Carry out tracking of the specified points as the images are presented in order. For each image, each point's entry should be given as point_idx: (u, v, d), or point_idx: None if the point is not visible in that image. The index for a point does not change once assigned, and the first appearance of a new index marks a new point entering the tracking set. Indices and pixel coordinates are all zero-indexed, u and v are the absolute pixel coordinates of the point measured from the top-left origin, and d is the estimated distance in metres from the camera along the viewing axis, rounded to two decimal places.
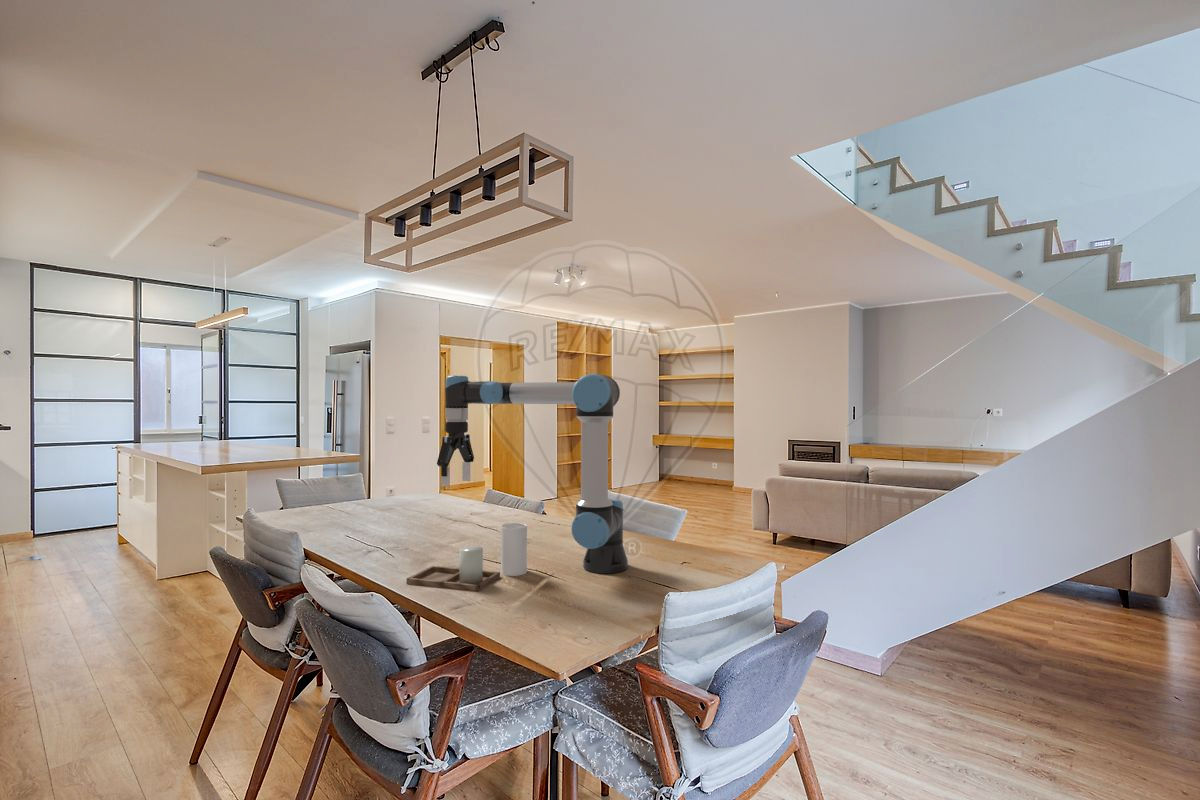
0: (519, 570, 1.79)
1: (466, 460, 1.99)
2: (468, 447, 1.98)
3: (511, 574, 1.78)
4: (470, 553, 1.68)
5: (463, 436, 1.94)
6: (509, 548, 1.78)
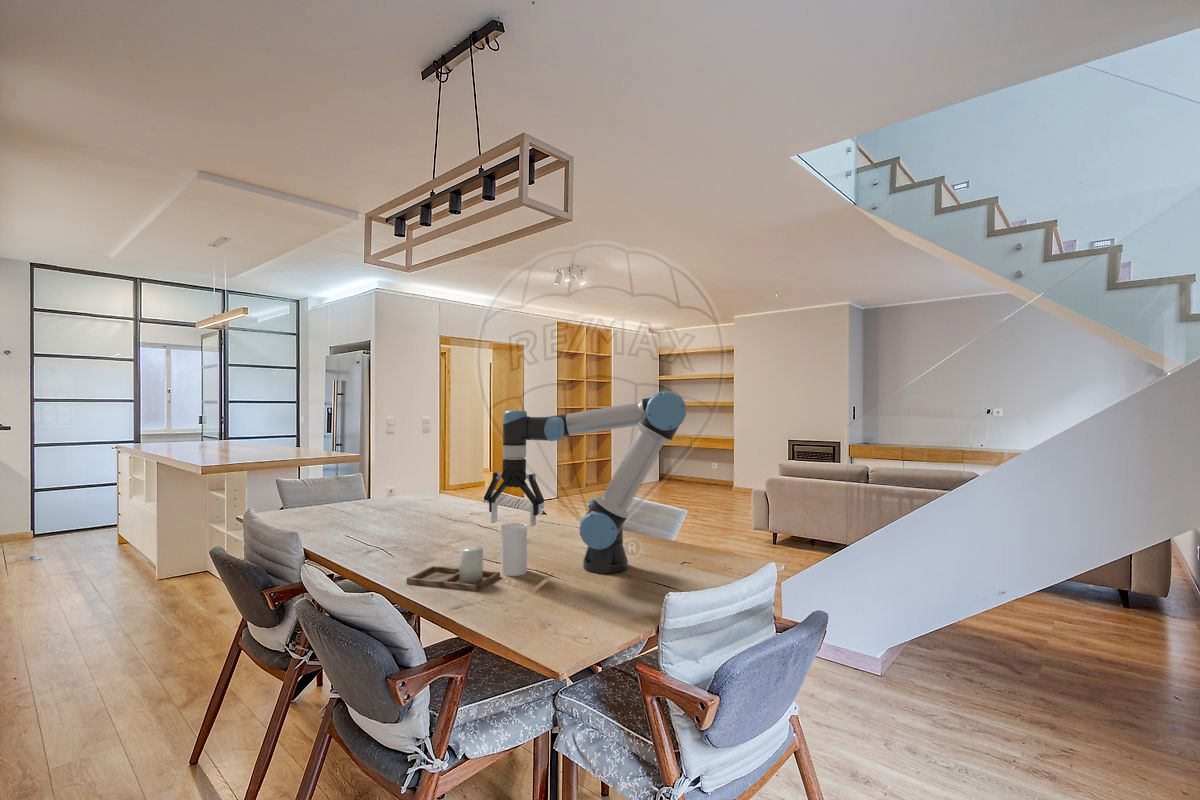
0: (519, 570, 1.79)
1: None
2: None
3: (511, 574, 1.78)
4: (470, 553, 1.68)
5: (520, 475, 1.80)
6: (509, 548, 1.78)
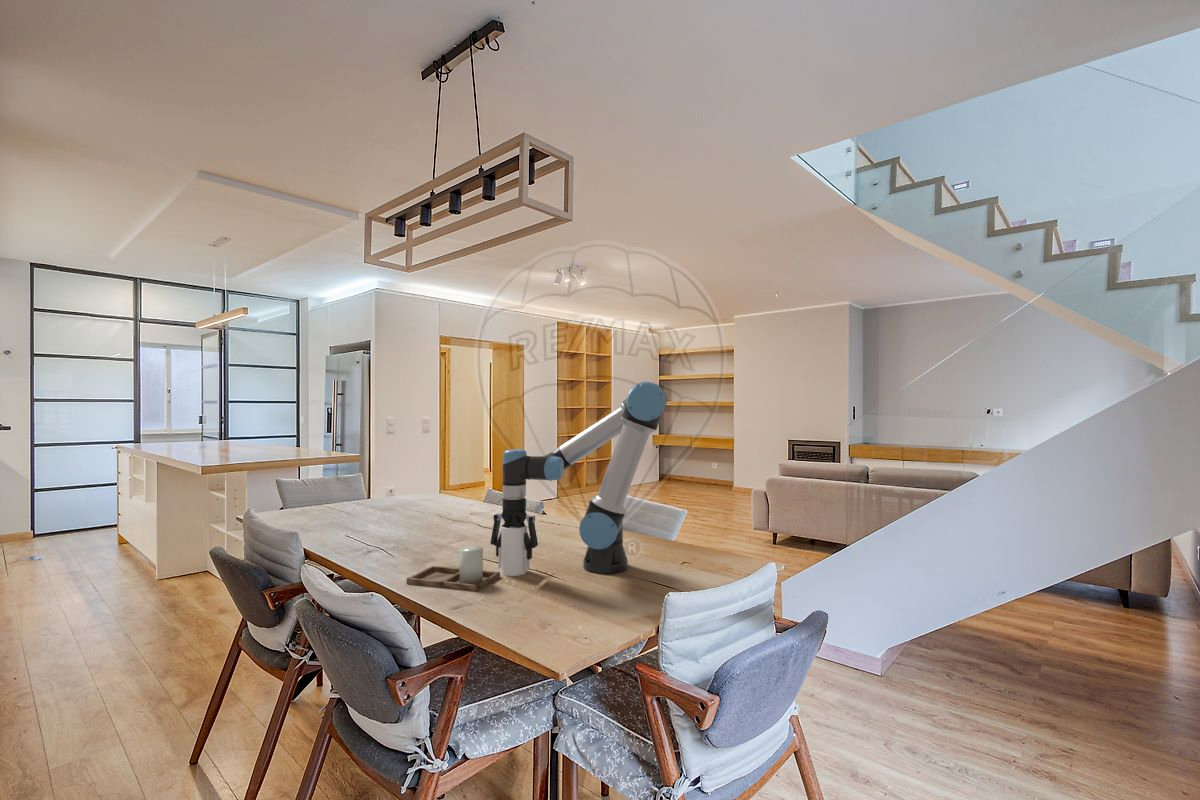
0: (519, 570, 1.79)
1: None
2: None
3: (511, 574, 1.78)
4: (470, 553, 1.68)
5: (520, 515, 1.80)
6: (509, 548, 1.78)
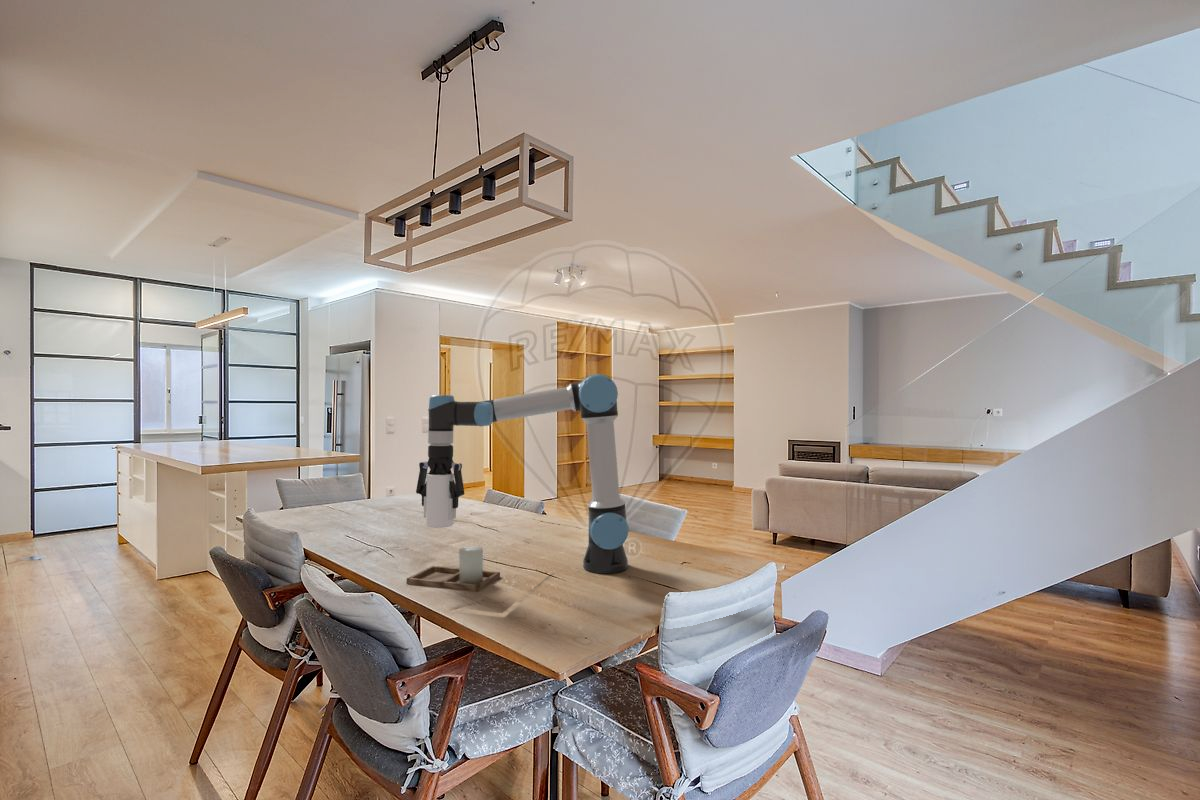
0: (444, 519, 1.72)
1: None
2: None
3: (435, 523, 1.71)
4: (470, 553, 1.68)
5: (446, 462, 1.73)
6: (433, 495, 1.71)
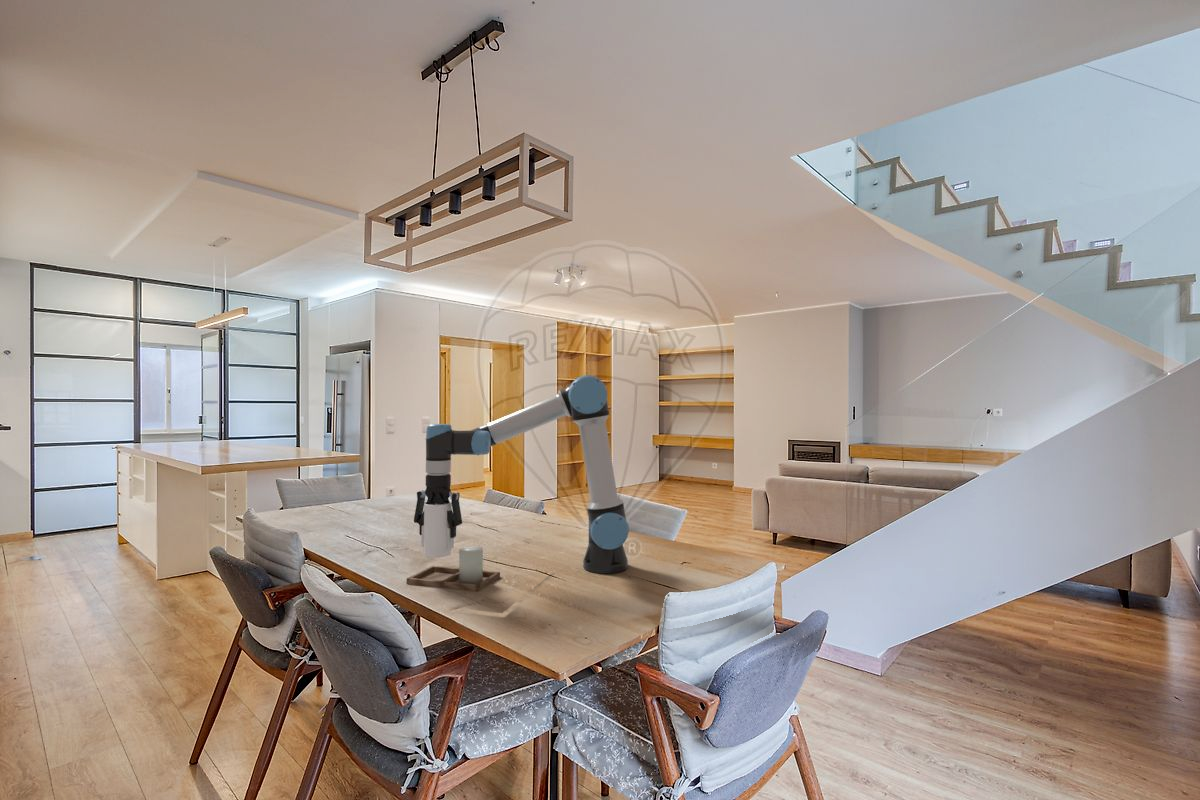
0: (441, 548, 1.72)
1: None
2: None
3: (433, 552, 1.71)
4: (470, 553, 1.68)
5: (444, 491, 1.73)
6: (431, 525, 1.71)
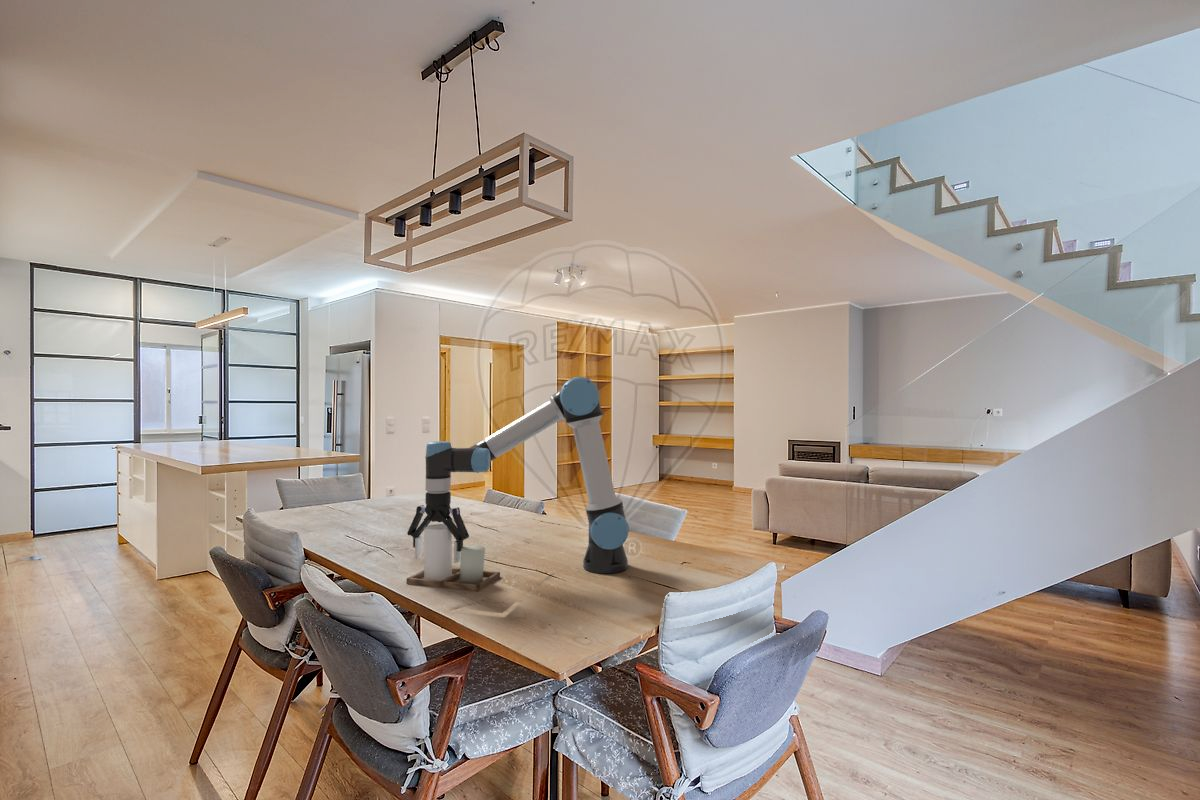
0: (442, 573, 1.71)
1: None
2: None
3: (433, 577, 1.71)
4: (472, 553, 1.68)
5: (443, 509, 1.73)
6: (431, 550, 1.71)
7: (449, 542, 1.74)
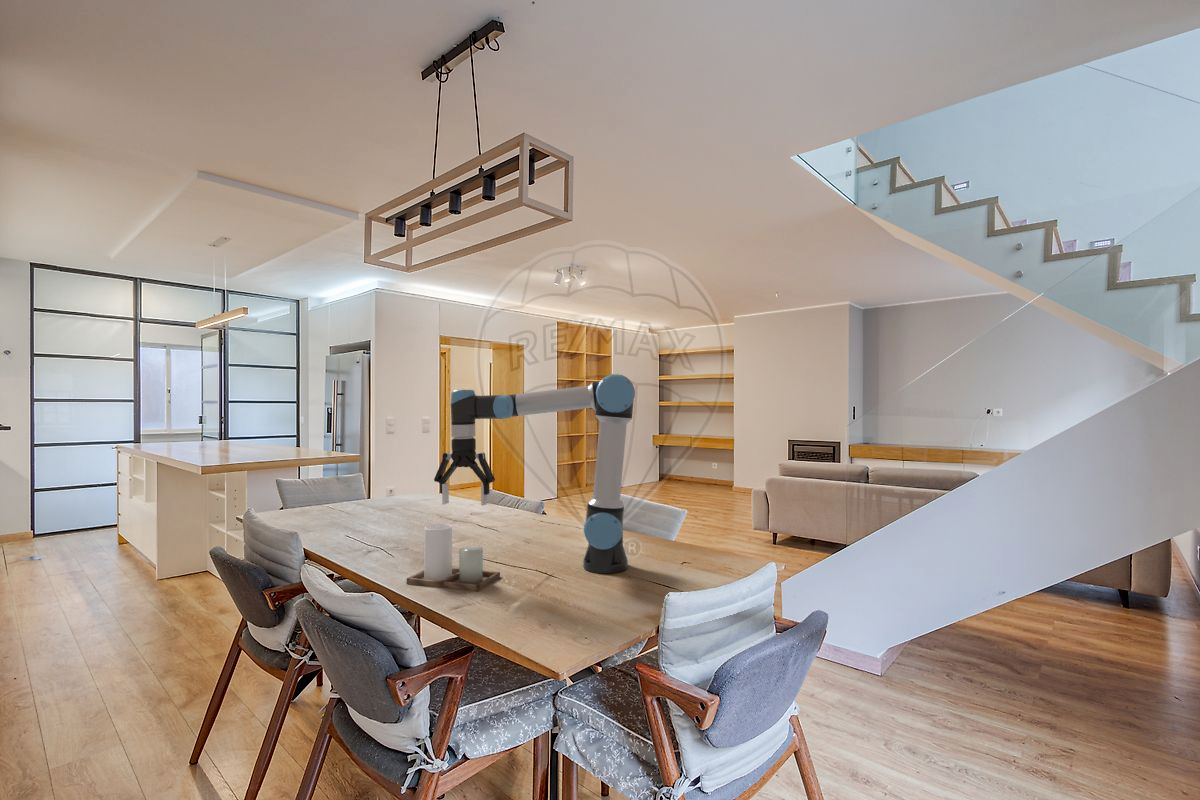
0: (442, 573, 1.71)
1: None
2: None
3: (433, 577, 1.71)
4: (470, 553, 1.68)
5: (470, 455, 1.79)
6: (431, 550, 1.71)
7: (449, 542, 1.74)
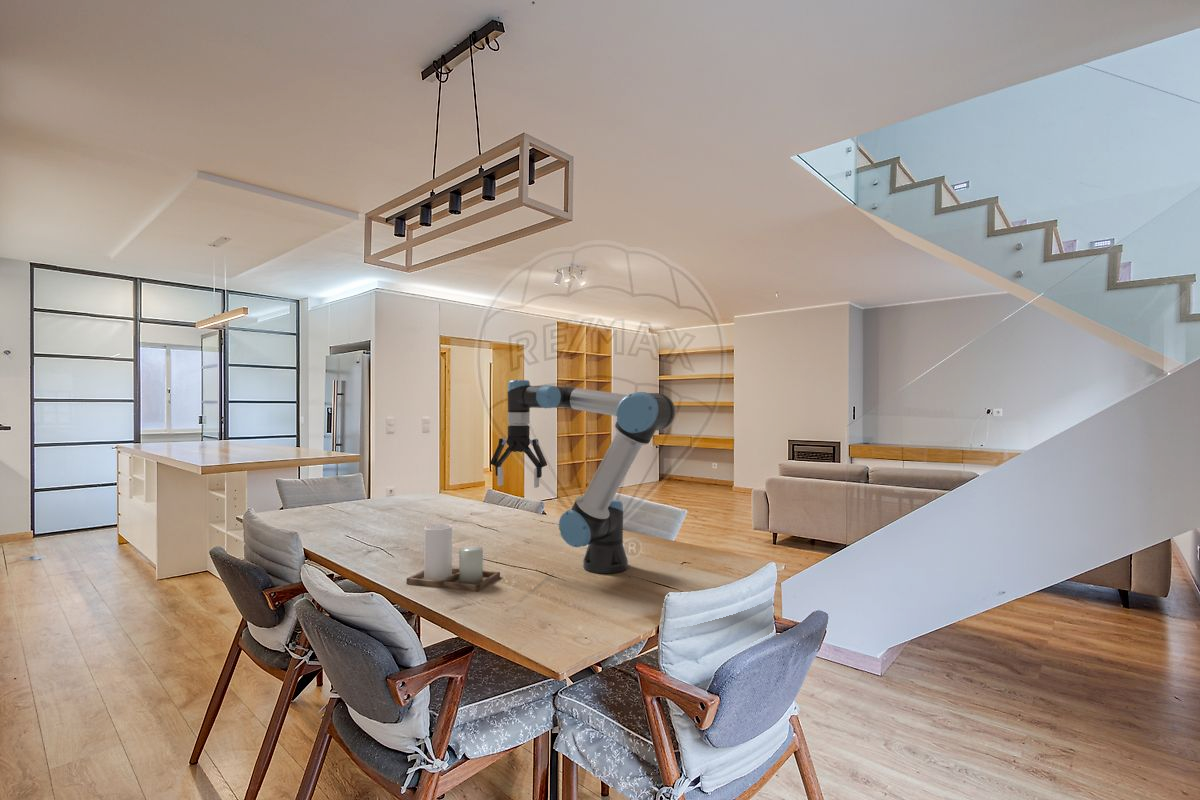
0: (442, 573, 1.71)
1: None
2: None
3: (433, 577, 1.71)
4: (470, 553, 1.68)
5: (524, 440, 1.93)
6: (431, 550, 1.71)
7: (449, 542, 1.74)
